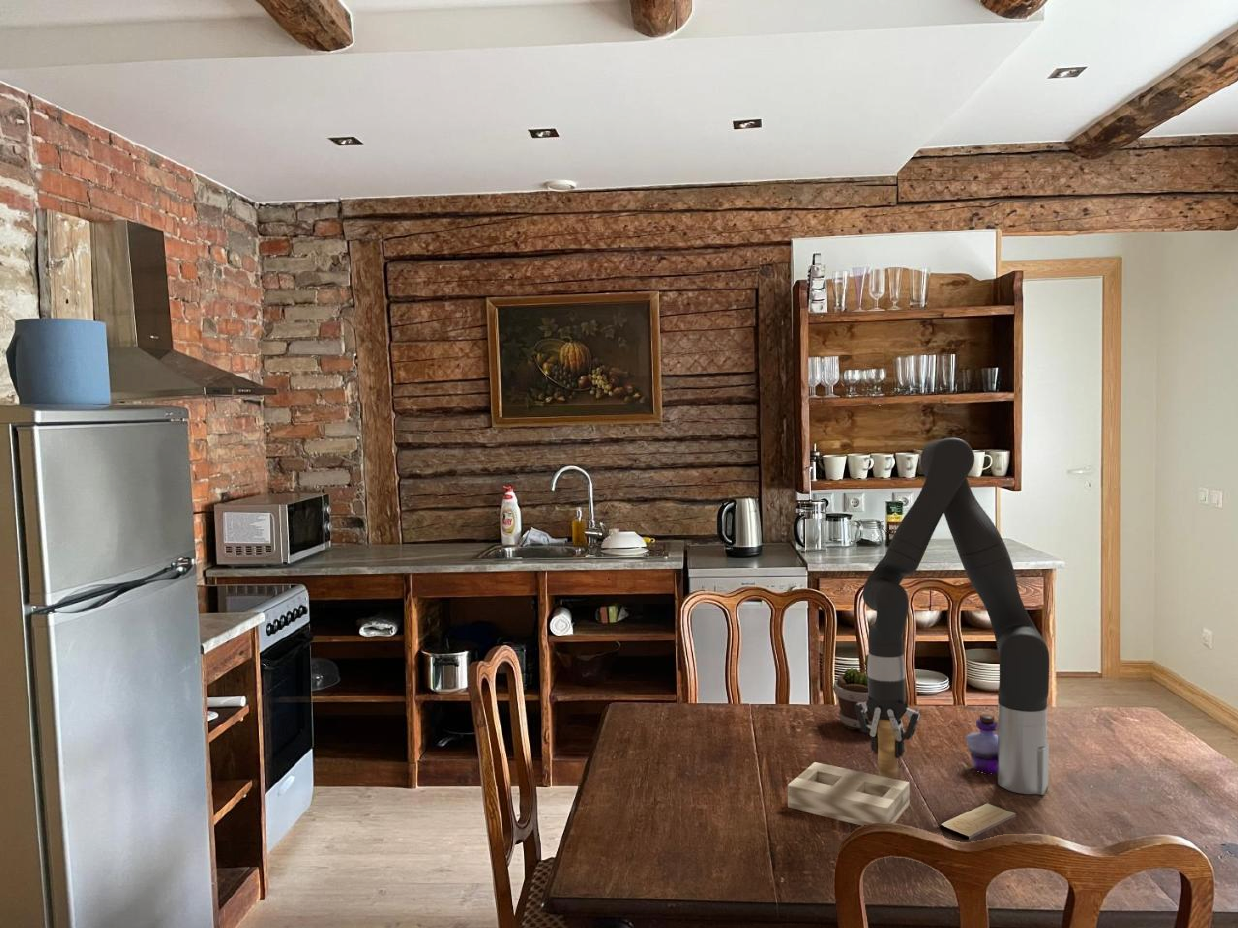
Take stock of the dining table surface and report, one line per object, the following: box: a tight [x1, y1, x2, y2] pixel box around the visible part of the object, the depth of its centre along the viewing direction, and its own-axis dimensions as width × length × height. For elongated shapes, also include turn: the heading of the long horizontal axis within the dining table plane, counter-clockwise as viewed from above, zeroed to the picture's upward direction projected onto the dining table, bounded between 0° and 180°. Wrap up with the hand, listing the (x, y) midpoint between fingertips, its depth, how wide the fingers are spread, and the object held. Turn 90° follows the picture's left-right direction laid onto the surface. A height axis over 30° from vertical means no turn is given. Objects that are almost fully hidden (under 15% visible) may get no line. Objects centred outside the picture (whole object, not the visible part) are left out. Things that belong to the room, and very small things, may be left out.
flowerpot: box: [831, 653, 874, 733], centre depth 224 cm, size 14×15×20 cm
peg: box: [877, 719, 899, 779], centre depth 189 cm, size 4×4×12 cm
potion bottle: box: [965, 713, 998, 776], centre depth 196 cm, size 9×9×12 cm
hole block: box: [787, 761, 911, 827], centre depth 180 cm, size 20×14×4 cm
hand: (887, 754), depth 189 cm, fingers closed on peg, 4 cm apart
